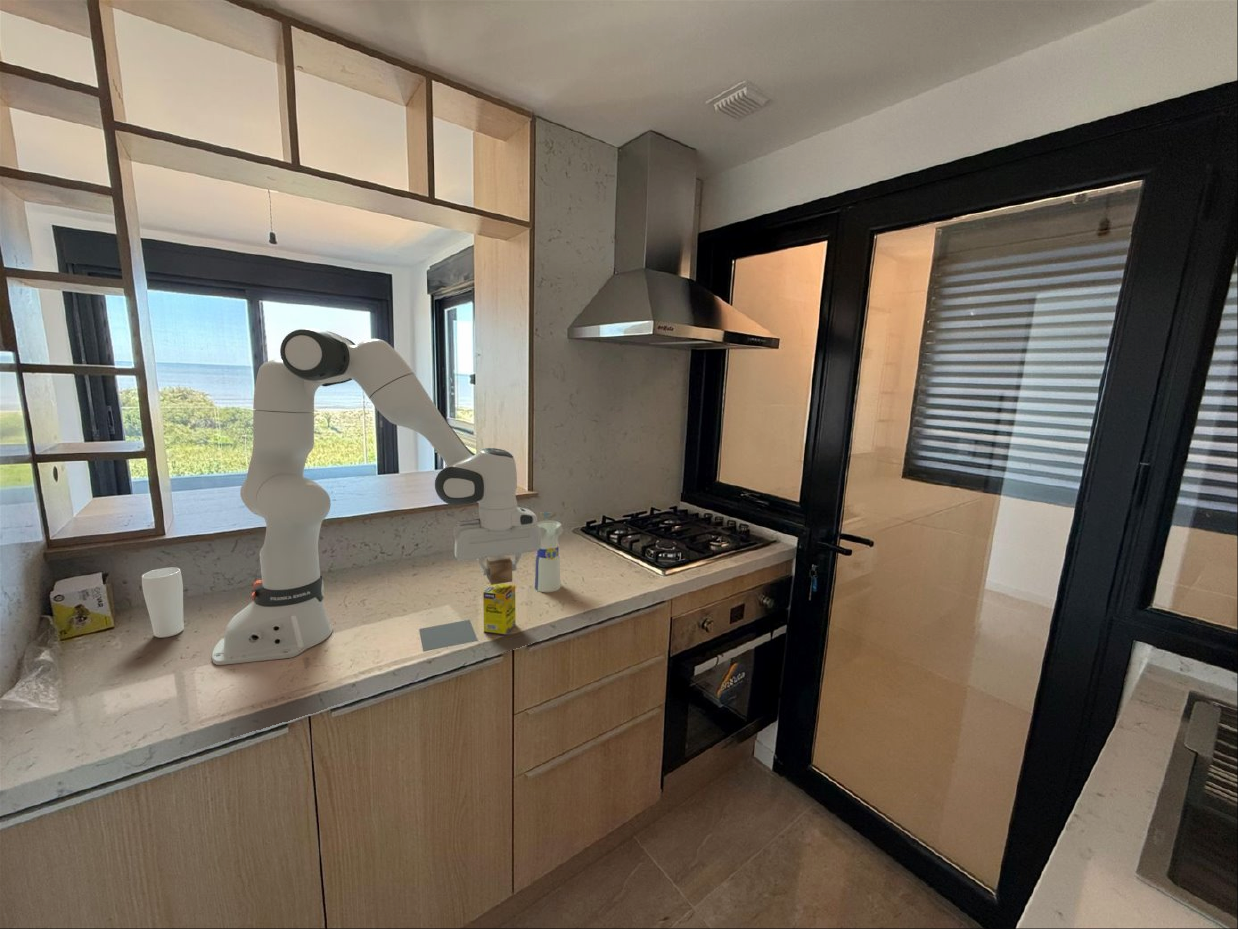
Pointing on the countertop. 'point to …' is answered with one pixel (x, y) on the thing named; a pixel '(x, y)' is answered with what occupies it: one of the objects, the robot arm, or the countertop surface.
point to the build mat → (447, 635)
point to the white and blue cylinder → (548, 556)
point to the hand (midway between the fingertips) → (499, 572)
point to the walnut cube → (499, 569)
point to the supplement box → (499, 609)
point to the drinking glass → (164, 600)
